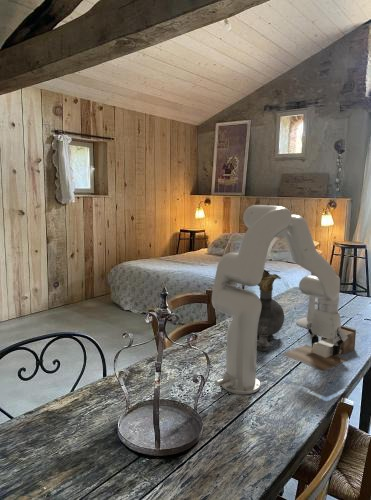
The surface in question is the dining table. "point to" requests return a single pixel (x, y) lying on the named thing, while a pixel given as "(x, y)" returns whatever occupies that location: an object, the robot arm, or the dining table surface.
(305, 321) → the candlestick
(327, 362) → the open wooden box
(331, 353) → the soap bar
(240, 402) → the dining table surface
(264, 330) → the salt shaker
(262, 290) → the pitcher
